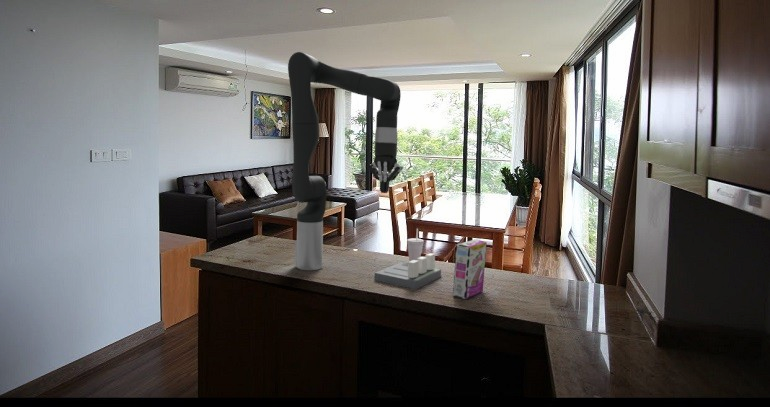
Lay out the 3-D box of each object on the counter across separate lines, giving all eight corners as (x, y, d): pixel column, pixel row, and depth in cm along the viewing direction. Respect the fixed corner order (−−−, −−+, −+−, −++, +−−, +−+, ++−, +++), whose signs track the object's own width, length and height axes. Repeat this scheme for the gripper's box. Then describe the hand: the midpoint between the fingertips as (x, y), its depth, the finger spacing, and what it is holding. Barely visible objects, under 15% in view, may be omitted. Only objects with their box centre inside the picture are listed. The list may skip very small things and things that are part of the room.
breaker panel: (374, 279, 158) (375, 256, 157) (401, 268, 173) (402, 247, 172) (416, 289, 150) (417, 264, 149) (440, 276, 165) (441, 254, 164)
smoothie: (421, 267, 176) (423, 230, 174) (404, 266, 177) (406, 229, 175) (423, 263, 182) (425, 227, 180) (407, 261, 183) (408, 226, 181)
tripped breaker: (407, 276, 153) (408, 261, 152) (412, 274, 155) (413, 259, 155) (413, 278, 151) (413, 262, 151) (418, 275, 154) (418, 260, 154)
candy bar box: (466, 300, 141) (469, 246, 139) (452, 296, 144) (455, 244, 142) (484, 291, 149) (487, 241, 147) (470, 288, 153) (473, 238, 150)
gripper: (363, 140, 158) (362, 191, 160) (397, 141, 151) (395, 195, 153) (375, 141, 164) (374, 190, 167) (408, 142, 157) (406, 193, 160)
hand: (384, 192), depth 160 cm, fingers closed
